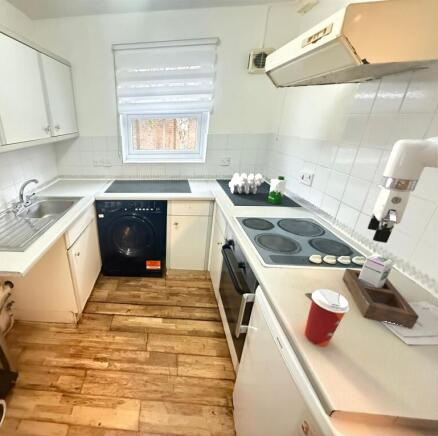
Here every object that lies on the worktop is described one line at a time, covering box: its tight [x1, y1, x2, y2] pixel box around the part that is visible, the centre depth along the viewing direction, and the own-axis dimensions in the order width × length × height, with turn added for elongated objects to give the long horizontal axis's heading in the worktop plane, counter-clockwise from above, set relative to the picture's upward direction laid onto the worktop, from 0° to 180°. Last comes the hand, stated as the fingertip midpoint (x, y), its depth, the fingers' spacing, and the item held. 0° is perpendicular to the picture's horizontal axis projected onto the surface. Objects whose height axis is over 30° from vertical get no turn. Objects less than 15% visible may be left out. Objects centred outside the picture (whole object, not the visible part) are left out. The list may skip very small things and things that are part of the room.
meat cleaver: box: [304, 292, 314, 300], centre depth 82 cm, size 12×1×5 cm
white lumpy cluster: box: [228, 172, 265, 195], centre depth 202 cm, size 18×18×25 cm
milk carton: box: [266, 175, 288, 206], centre depth 179 cm, size 9×9×20 cm
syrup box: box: [358, 253, 395, 288], centre depth 86 cm, size 6×6×14 cm
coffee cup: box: [304, 288, 350, 347], centre depth 67 cm, size 8×8×15 cm
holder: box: [342, 268, 420, 330], centre depth 83 cm, size 12×22×5 cm, turn 157°
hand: (376, 235), depth 76 cm, fingers open, 9 cm apart
